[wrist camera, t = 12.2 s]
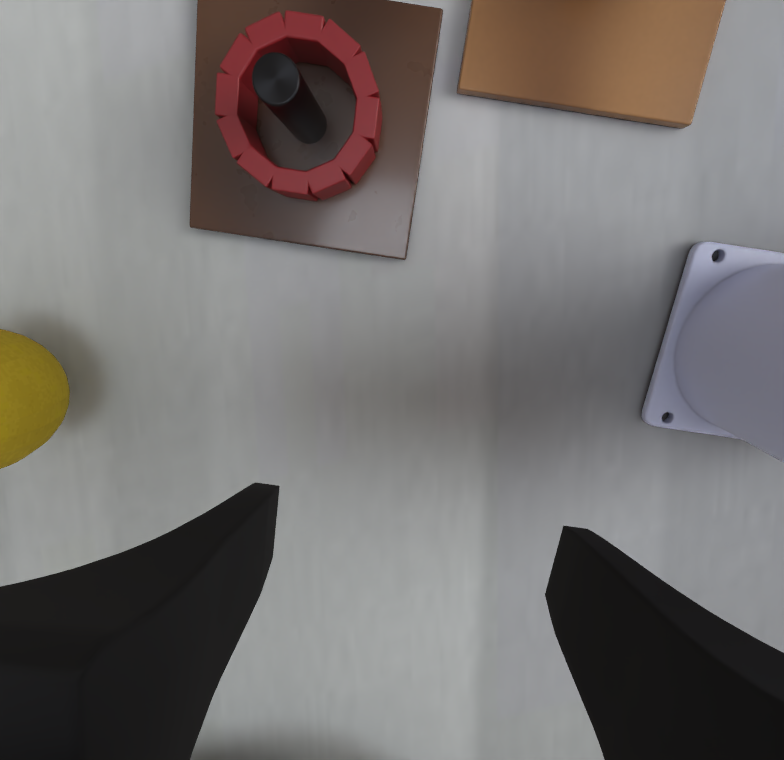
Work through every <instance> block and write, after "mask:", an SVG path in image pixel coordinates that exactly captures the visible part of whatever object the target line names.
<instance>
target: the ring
mask: <svg viewBox="0 0 784 760" xmlns="http://www.w3.org/2000/svg"><path fill="white" fill-rule="evenodd" d="M245 32H246V34H247V36H248V38H247V37H246V36H245V35H243V34H242V33H239V34H238V36H237V38H236V39H235V41H234V43H233V44H232V46H231V48H230V49H229V51H228V52H227V54H226V56H225V57H224V59H223V61H222V62H221V64H220V68H221V70H222V71H223V72H224V73H217V77H216V99H215V115H217V116H218V117H219V118H220V119H218V120H217V124H218V126H219V129H220V131H221V133H222V136H223V138H224V140H225V142H226V145H227V147H228V149H229V151H230V154H231V156H232V158H234V159H235V160H237V164H238V165H239V166H240V167H242V168H243V169H244V170H245V171H247V172H248V173H249V174H250V175H251V176H253V177H254V178H255V179H256V180H258V181H259V182H260V183H261V184H263V185H264V186H265V187H267V188H269V189H271V190H273V191H275V192H277V193H279V194H282V195H284V196H286V197H291V198H298V199H304V200H311V201H318V198H320V199H321V200H326V199H328V198H330V197H332V196H335V195H337V194H339V193H342V192H344V191H346V190H349V189H351V188H352V186H351V183H350V181H352V182H353V183H354V184H357V183H358V181H359V180H360V179H361V177H362V176H363V175H364V173H365V172H366V170H367V169H368V168H369V166H370V165H371V163H372V162H373V161H374V159H375V157H376V156H375V153H374V152H378V148H379V140H380V133H381V125H382V111H381V110H382V107H381V101H380V95H379V89H378V87H377V84H376V81H375V78H374V76H373V73H372V70H371V67H370V65H369V62H368V59H367V56H366V53H365V52H362V50H361V46H360V44H358V43H357V42H356V41H355V40H354V39H353V38H352V37H351V36H349V35H348V34H347V33H346V32H345V31H344V30H343V29H341V28H340V27H339V26H338V25H337V24H336V23H335V22H334V21H332V20H331V19H329V20H328V21H327V23H326V22H325V19H324V17H323V16H321V15H315V14H308V13H302V12H296V11H289V10H286V11H285V18H283V16H282V14H281V13H280V12H279V11H278V12H275V13H273V14H271V15H269V16H267V17H265V18H263V19H261V20H259V21H257V22H255V23H253V24H251V25H249V26H247V27H246V28H245ZM271 52H279V53H282V54H285V55H286V56H288V57H289V58H290V59H291V60H292V61H293V62H294V63H295V64H296V63H298V62H304V63H311V64H317V65H323V66H328V67H329V68H330V69H331V70H333V71H334V72H335V73H336V74H337V75H338V76H339V77H341V78H342V79H343V80H344V81H345V82H346V83H348V84H349V85H350V86H351V88H352V91H353V94H354V96H355V99H356V106H355V115H354V123H353V132H352V134H351V135H350V137H349V138H348V139H347V141H346V142H345V144H344V145H343V147H342V148H341V149H340V151H339V152H338V154H337V155H336V157H335V158H334V159H333V160H330V161H328V162H326V163H324V164H321V165H319V166H317V167H314V168H312V169H310V170H308V171H303V170H297V169H290V168H283V167H279V166H278V165H276V164H275V163H274V162H273V161H271V160H270V159H269V158H268V157H267V154H266V152H265V149H264V147H263V145H262V142H261V140H260V138H259V135H258V133H257V131H256V125H257V110H258V98H259V97H258V96H257V94H256V92H255V90H254V88H253V84H252V72H253V68H254V66H255V64H256V62H257V61H258V60H259V59H260V58H261V57H262V56H263V55H265V54H267V53H271Z"/></svg>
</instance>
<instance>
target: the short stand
mask: <svg viewBox="0 0 784 760" xmlns="http://www.w3.org/2000/svg"><path fill="white" fill-rule="evenodd" d="M725 2H726V0H472V2H471V8H470V14H469V20H468V26H467V33H466V39H465V45H464V51H463V57H462V63H461V70H460V76H459V82H458V88H457V93H459V94H465V95H472V96H478V97H485V98H491V99H497V100H504V101H510V102H517V103H523V104H529V105H536V106H542V107H549V108H555V109H561V110H568V111H574V112H580V113H587V114H593V115H600V116H606V117H612V118H619V119H625V120H632V121H638V122H644V123H651V124H657V125H664V126H670V127H676V128H685V127H687V126H689V125H691V123H692V119H693V116H694V112H695V109H696V105H697V102H698V98H699V94H700V91H701V87H702V84H703V80H704V77H705V73H706V69H707V66H708V62H709V59H710V55H711V52H712V48H713V44H714V41H715V37H716V34H717V30H718V27H719V23H720V19H721V16H722V12H723V9H724V5H725Z"/></svg>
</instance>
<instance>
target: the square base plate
mask: <svg viewBox="0 0 784 760" xmlns="http://www.w3.org/2000/svg"><path fill="white" fill-rule="evenodd" d="M286 10H289V11H296V12H302V13H308V14H315V15H321V16H323V17H324V19H325V22H326V23H327V21H328V20H329V19H331V20H332V21H334V22H335V23H336V24H337V25H338V26H339V27H340V28H341V29H343V30H344V31H345V32H346V33H347V34H348V35H349V36H351V37H352V38H353V39H354V40H355V41H356V42H357V43H358V44H360V46H361V50H362V52H365V53H366V56H367V59H368V62H369V65H370V67H371V70H372V73H373V76H374V78H375V81H376V84H377V87H378V89H379V95H380V101H381V107H382V110H381V111H382V125H381V133H380V140H379V148H378V152H374V153H375V156H376V157H375V159H374V161H373V162H372V163H371V165H370V166H369V168H368V169H367V170H366V172H365V173H364V175H363V176H362V177H361V179H360V180H359V181H358V183H357V184H354V183H353V182H352V181H350V183H351V186H352V188H351V189H349V190H346V191H344V192H342V193H339V194H337V195H335V196H332V197H330V198H328V199H326V200H321V199H320V198H318V201H311V200H304V199H298V198H291V197H286V196H284V195H282V194H279V193H277V192H275V191H273V190H271V189H269V188H267V187H265V186H264V185H263V184H261V183H260V182H259V181H258V180H256V179H255V178H254V177H253V176H251V175H250V174H249V173H248V172H247V171H245V170H244V169H243V168H242V167H240V166H239V165H238V164H237V160H235V159H234V158H232V156H231V154H230V151H229V149H228V147H227V145H226V142H225V140H224V138H223V136H222V133H221V131H220V129H219V126H218V124H217V120H218V119H220V118H219V117H218V116H217V115H215V99H216V77H217V73H224V72H223V71H222V70H221V68H220V64H221V62H222V61H223V59H224V57H225V56H226V54H227V52H228V51H229V49H230V48H231V46H232V44H233V43H234V41H235V39H236V38H237V36H238V34H239V33H242V34H243V35H245V36H246V37H247V38H248V36H247V34H246V32H245V28H246V27H247V26H249V25H251V24H253V23H255V22H257V21H259V20H261V19H263V18H265V17H267V16H269V15H271V14H273V13H275V12H278V11H279V12H280V13H281V14H282V16H283V18H285V11H286ZM442 14H443V10H442V9H440V8H434V7H427V6H421V5H415V4H409V3H402V2H396V1H390V0H198V4H197V33H196V61H195V89H194V118H193V146H192V175H191V203H190V227H191V228H198V229H204V230H211V231H218V232H224V233H231V234H237V235H244V236H251V237H257V238H264V239H270V240H277V241H284V242H290V243H297V244H303V245H310V246H316V247H323V248H330V249H336V250H343V251H349V252H356V253H363V254H369V255H376V256H382V257H389V258H396V259H402V260H405V259H406V255H407V248H408V242H409V235H410V228H411V222H412V215H413V208H414V202H415V195H416V188H417V182H418V175H419V168H420V161H421V155H422V148H423V141H424V135H425V128H426V121H427V115H428V108H429V101H430V95H431V88H432V81H433V74H434V68H435V61H436V54H437V48H438V41H439V34H440V28H441V21H442ZM252 84H253V88H254V90H255V92H256V94H257V96H258V97H259V98H258V110H257V125H256V131H257V133H258V135H259V138H260V140H261V142H262V145H263V147H264V149H265V152H266V154H267V157H268V158H269V159H270V160H271V161H273V162H274V163H275V164H276V165H278V166H279V167H283V168H290V169H297V170H303V171H308V170H310V169H312V168H314V167H317V166H319V165H321V164H324V163H326V162H328V161H330V160H333V159H334V158H335V157H336V155H337V154H338V152H339V151H340V149H341V148H342V147H343V145H344V144H345V142H346V141H347V139H348V138H349V137H350V135H351V134H352V132H353V123H354V115H355V106H356V99H355V96H354V94H353V91H352V88H351V86H350V85H349V84H348V83H346V82H345V81H344V80H343V79H342V78H341V77H339V76H338V75H337V74H336V73H335V72H334V71H333V70H331V69H330V68H329V67H328V66H323V65H317V64H311V63H304V62H298V63H296V64H295V63H294V62H293V61H292V60H291V59H290V58H289V57H288V56H286V55H285V54H282V53H279V52H271V53H267V54H265V55H263V56H262V57H261V58H260V59H259V60H258V61H257V62H256V64H255V66H254V68H253V72H252Z"/></svg>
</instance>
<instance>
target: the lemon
mask: <svg viewBox="0 0 784 760" xmlns="http://www.w3.org/2000/svg"><path fill="white" fill-rule="evenodd" d="M69 395H70V390H69V385H68V380H67V376H66V374H65V372H64V370H63V368H62V366H61V365H60V363H59V362H58V361H57V359H56V358H55V357H54V356H53V355H52V354H51V353H50V352H49V351H48V350H47V349H45V348H44V347H43V346H42V345H40V344H38V343H37V342H35V341H33V340H31V339H29V338H27V337H25V336H23V335H20V334H17V333H13V332H10V331H6V330H3V329H0V469H1V468H4V467H7V466H9V465H11V464H14V463H16V462H18V461H19V460H21V459H23V458H25V457H26V456H27V455H29V454H30V453H32V452H33V451H35V450H36V449H37V448H39V447H40V446H42V445H43V444H44V443H45V442H47V441H48V440H49V439H50V437H51V436H52V435H53V434H54V433H55V431H56V430H57V429H58V427H59V426H60V425H61V423H62V421H63V420H64V417H65V414H66V411H67V409H68V405H69Z"/></svg>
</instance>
